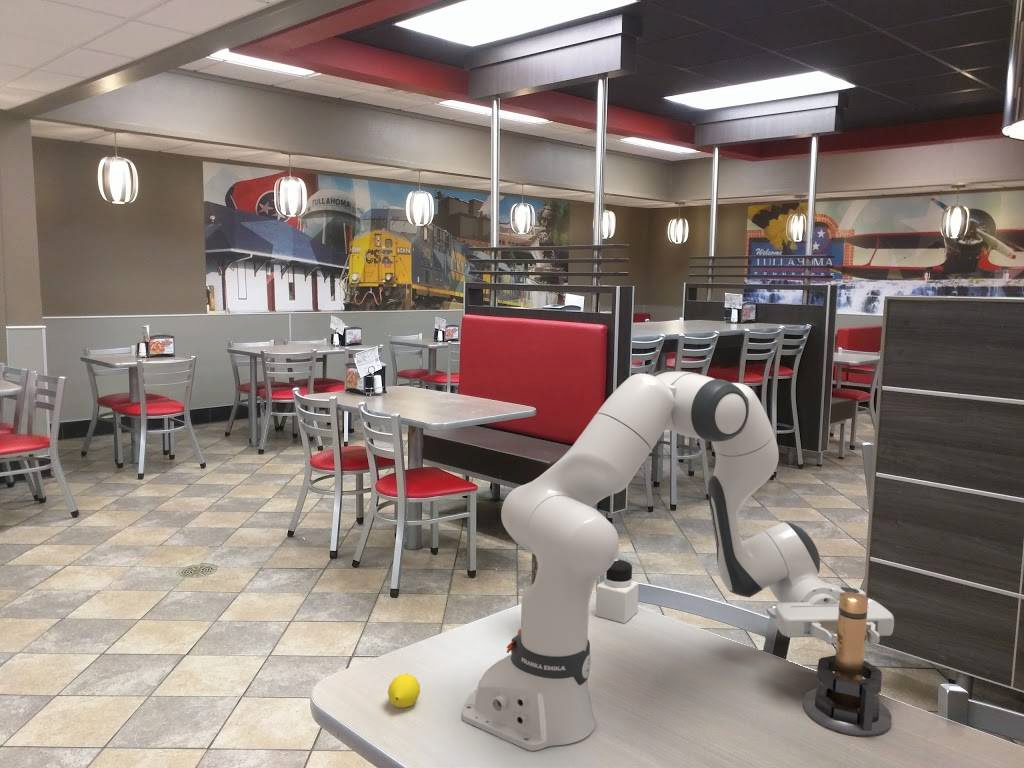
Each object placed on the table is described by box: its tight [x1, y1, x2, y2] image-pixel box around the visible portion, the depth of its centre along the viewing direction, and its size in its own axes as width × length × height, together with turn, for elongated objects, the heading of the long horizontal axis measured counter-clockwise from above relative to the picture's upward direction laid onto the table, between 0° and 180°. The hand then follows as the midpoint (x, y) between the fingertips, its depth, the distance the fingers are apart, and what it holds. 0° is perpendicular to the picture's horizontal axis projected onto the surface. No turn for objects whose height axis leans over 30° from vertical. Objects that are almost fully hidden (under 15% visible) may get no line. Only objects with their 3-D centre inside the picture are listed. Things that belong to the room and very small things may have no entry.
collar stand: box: [802, 654, 892, 738], centre depth 135 cm, size 14×14×8 cm
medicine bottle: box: [595, 559, 639, 624], centre depth 174 cm, size 7×7×12 cm
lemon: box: [387, 673, 421, 709], centre depth 136 cm, size 7×5×5 cm
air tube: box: [832, 592, 869, 709], centre depth 134 cm, size 4×4×20 cm
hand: (854, 640), depth 133 cm, fingers open, 6 cm apart
